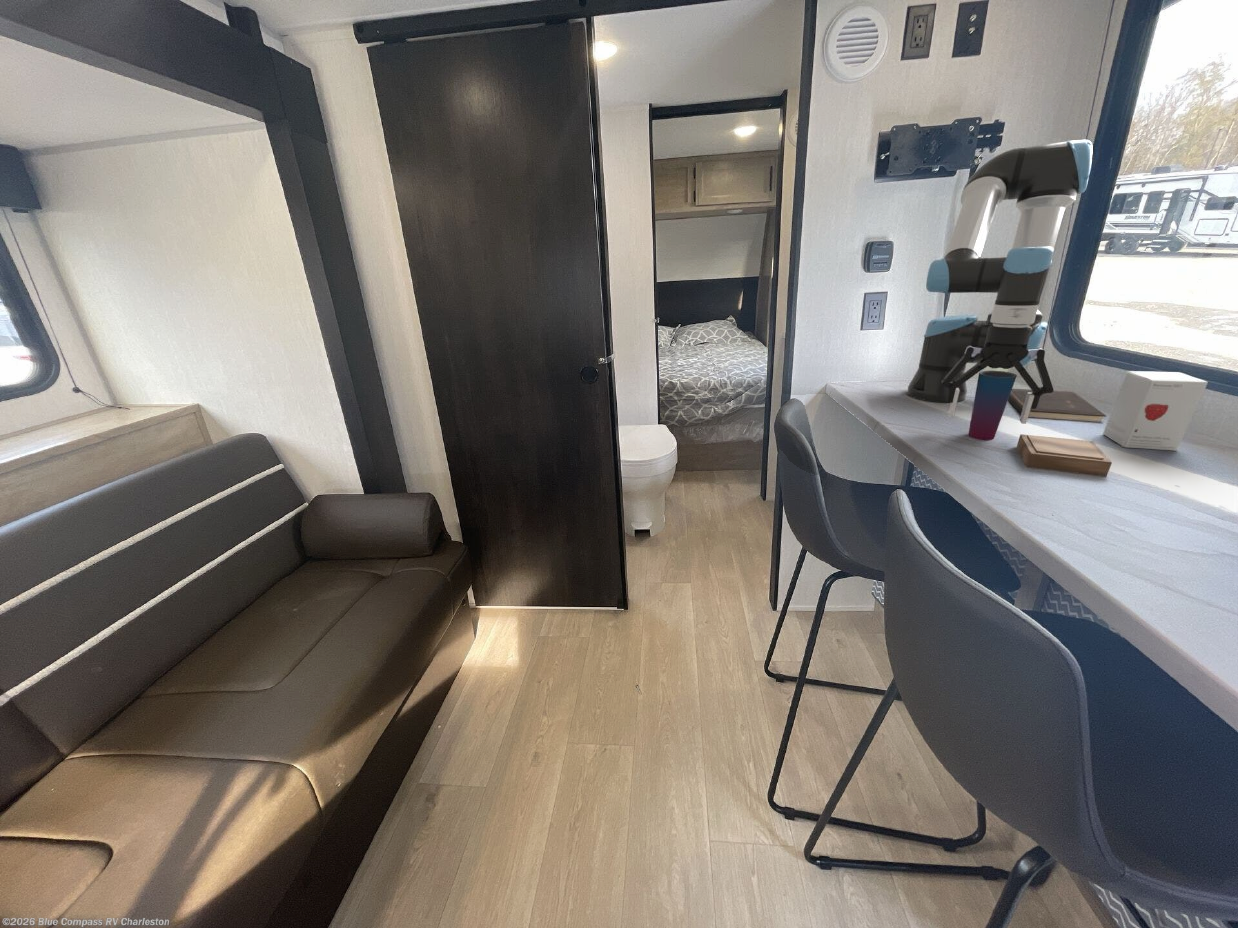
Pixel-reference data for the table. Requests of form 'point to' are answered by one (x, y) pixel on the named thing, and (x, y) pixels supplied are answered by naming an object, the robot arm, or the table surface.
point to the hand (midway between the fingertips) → (985, 418)
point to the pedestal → (1063, 455)
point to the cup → (990, 403)
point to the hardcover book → (1057, 406)
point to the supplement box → (1154, 409)
